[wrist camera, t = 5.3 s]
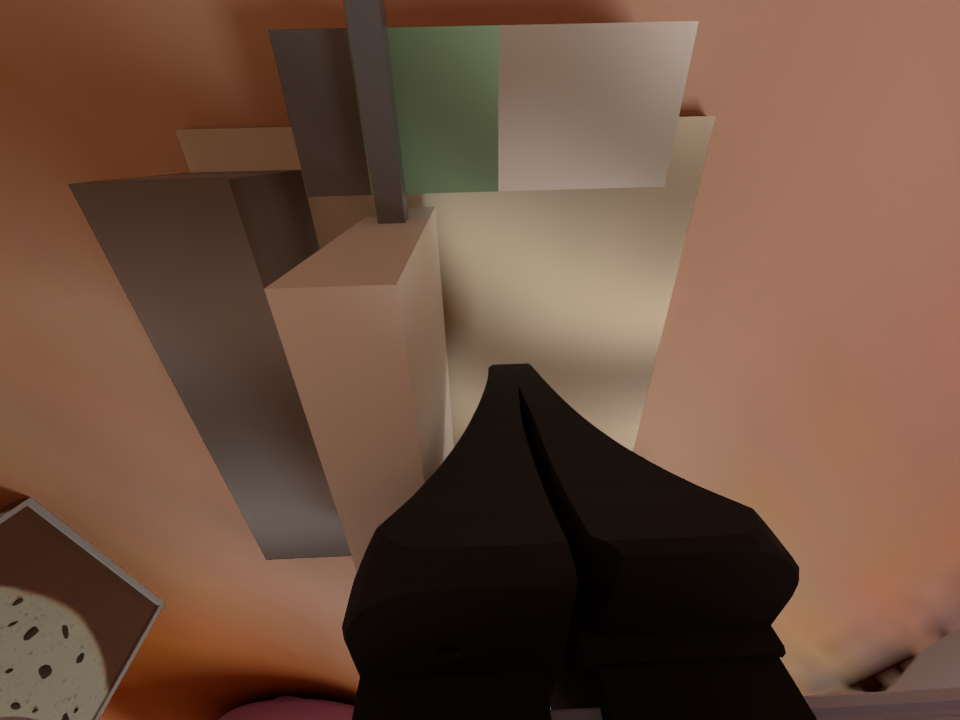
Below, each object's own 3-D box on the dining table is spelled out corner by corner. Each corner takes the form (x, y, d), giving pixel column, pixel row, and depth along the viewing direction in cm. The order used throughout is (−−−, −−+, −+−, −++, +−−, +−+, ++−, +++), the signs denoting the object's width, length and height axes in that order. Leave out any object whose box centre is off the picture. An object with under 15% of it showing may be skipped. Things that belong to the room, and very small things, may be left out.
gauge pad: (455, 463, 15) (448, 659, 10) (416, 465, 15) (387, 663, 9) (420, 17, 8) (314, -288, 2) (349, 19, 8) (73, -288, 2)
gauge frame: (622, 475, 17) (661, 557, 14) (313, 488, 17) (274, 575, 14) (724, 47, 9) (873, -11, 6) (159, 59, 9) (-26, 6, 6)
